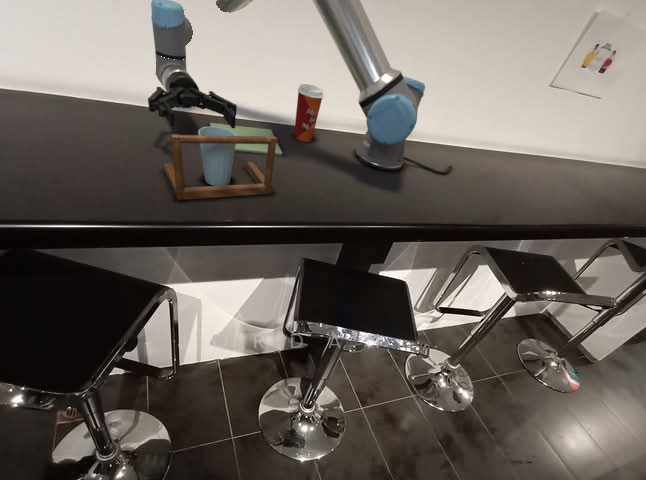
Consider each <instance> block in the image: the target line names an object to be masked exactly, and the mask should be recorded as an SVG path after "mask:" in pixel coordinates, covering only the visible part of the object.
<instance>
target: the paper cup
mask: <svg viewBox="0 0 646 480" xmlns="http://www.w3.org/2000/svg"><path fill="white" fill-rule="evenodd" d="M324 96H325V95H324V89H322V88H321V87H318V86H316V85H313V84H308V83H301V84H300V85H299V86H298V88H297V101H296V102H297V103H296V110H295V111H296V112H295V122H294V136H293V137H294V138H295V139H296V140H298V141H300V142H305V143H308V142H309V143H310V142H312V139H313V136H314V133H315V129H316V125H317V120H318V117H319V116H318V115H319V112H320V108H321V104H322V101H323V99H324Z"/></svg>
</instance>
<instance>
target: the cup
mask: <svg viewBox="0 0 646 480" xmlns="http://www.w3.org/2000/svg"><path fill="white" fill-rule="evenodd" d="M197 135H214V136H236V134H235V133H233V132H232V131H230V130H228V129H225V128H220V127H210V126H204V127H201V128H199V129H198V131H197ZM235 146H236V144H203V143H199V148H200V155H201V163H202V169H203V176H204V181H205V182H206V183H207V184H209V185H210V186H226V185H230V183H231V179H232V178H231V177H232V171H233V165H234V158H235V152H236V151H235Z"/></svg>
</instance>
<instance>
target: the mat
mask: <svg viewBox="0 0 646 480" xmlns="http://www.w3.org/2000/svg"><path fill="white" fill-rule="evenodd" d="M209 127H220V128H225V129H228V130H230V131H232V132H233V133H235V134H236V136H275V135H274V133H273V130H272V129H268V128H260V127H251V126H242V125H235V128H231V126H230V125H229V124H225V123H216V122H209ZM267 151H268V144H236V146H235V152H243V153H252V154H254V153H255V154H265V155H267ZM275 155H277V156H283V152H282V150H281V147H280V146H279V143H278V142H277V144H276V149H275Z"/></svg>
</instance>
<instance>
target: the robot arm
mask: <svg viewBox="0 0 646 480" xmlns="http://www.w3.org/2000/svg"><path fill="white" fill-rule="evenodd" d="M253 1H254V0H217V1H216V5H217V6H218V8H220V10H221V11H223V12H229V13H231V12H235V11H238V10H240V9H242V8H243V9H244V8H246V7H247V6H248V5H250V3H252V2H253ZM312 1H313V4H314V6H315V9H316V10H317V12H318V14H319V15H320V18H321V19H322V22H323V23H324V26H325V27H326V29H327V31H328V33H329V35H330V36H331V39H332V40H333V42H334V45H335V46H336V49H337V50H338V52H339V54H340V56H341V58H342V60H343V62H344V64H345V65H346V68H347V70H348V71H349V73H350V76H351V77H352V79H353V81H354V83H355V85H356V87H357V88H358V91H359V96H358V100H357V103H358V105H359V107H360V109H361V111H362V112H363V114H364V116H365V118H366V128H367V130H366V132H365V134H364V135H363V137H362V139H361V140H360V141H359V142H358V145H357V147H356V149H355V153H354V154H355V157H356V159H358V160H359V161H360V162H361V163H363V164H364V165H366V166H368V167H371V168H373V169H376V170H380V171H385V172H397V171H399V170H401V169H402V167H403V165H404V161H407V162H409V163H412V164H415V165H416V166H419V167H421V168H423V169H426V170H428V171H431V172H433V173H436V174H442V175H443V174H449V172H450V171H451V170H452V168H453V165H451V164H450V165H449V166H448V168H447V170H446V171H442V170H438V169H434V168H433V167H430V166H428V165H425V164H422V163H420V162H418V161H416V160H413V159H411V158H408V157H406V156H405V149H406V148H405V147H406V141H407V139H408V138H409V136H410V135H411V134H412V132H413V131H414V129H415V128H416V125H417V121H418V110H419V106H420V103H421V101H422V98H424V95H425V90H426V84H425V83H424V82H422V81H420V80H417V79H414V78H410V77H408V76H405V75H403V73H402V71H401V70H398V69H395V68H393V67H392V66H391V64H390V62H389V60H388V58H387V56H386V53H385V51H384V49H383V47H382V44H381V43H380V40H379V38H378V36H377V34H376V32H375V30H374V27H373V26H372V23H371V21H370V19H369V17H368V15H367V12H366V10H365V8H364V6H363V4H362V2H361V0H312ZM150 6H151V7H150V8H151V16H150V17H151V18H150V19H151V20H150V21H151V24H152V33H153V34H152V35H153V42H154V50H155V51H154V53H155V60H156V73H155V76H156V77H157V80H158V82H159V83H160V84H161V85H162V87H163V88H162V87H161V86H156V90H155V91H154V92H153V93H152V94H151V95H150V96H149V97H148V98H147V104H148V111H149V112H152V113H154V112H156V111H157V113H158V117H161V118H164V117H165V118H166V120H167V122H168V123H169V125H170V127H175V126H176V123H175V113H174V111H173V110H174V109H175V108H176V109H179V108H182V109H191V108H198V109H200V110H209V111H211V112H214V113H217V114H220V115H222V117H223V118H224V120H225V121H226V123H227V125H230V126H231V128H235V126H236V116H237V107H238V105H237V104H235V103H234V102H232V101H230V100H228V99H226V98H224V97H222V96H220V95H218V94H217V93H215V92H214V91H213V90H209V91H208V94H207V93H205V92H202V91H201V90H200V88H199V86H198V84H197V83H196V81H195V80H194V79H193V78H192V76H191V75H190V74H189V72H188V70H187V46H186V45H187V44H188V43H189V42H190V41H191V39H192V35H193V30H192V26H191V23H190V22H189V20H188V19H187V18H186V17H185V15H184V10H185V9H184V7H183V5H182V4H181V3H179V2H177V1H173V0H151V2H150ZM243 9H242V10H243ZM161 56H162V57H161ZM164 57H165V58H164ZM168 58H169V59H168ZM174 59H175V60H174ZM183 59H184V60H183Z"/></svg>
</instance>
